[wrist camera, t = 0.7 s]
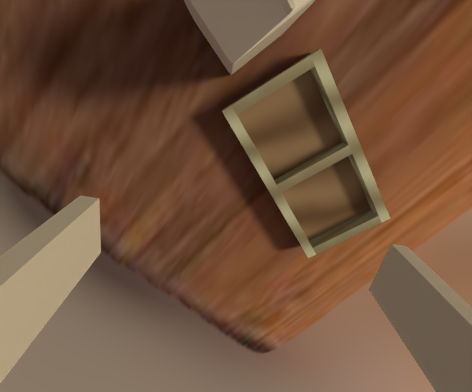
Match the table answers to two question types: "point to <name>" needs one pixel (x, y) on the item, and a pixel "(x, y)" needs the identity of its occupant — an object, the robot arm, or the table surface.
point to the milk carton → (243, 25)
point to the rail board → (308, 154)
